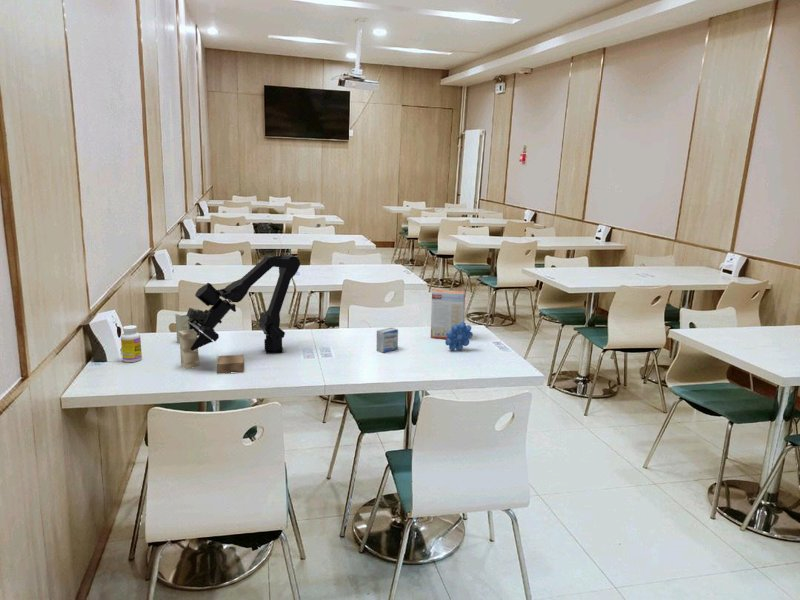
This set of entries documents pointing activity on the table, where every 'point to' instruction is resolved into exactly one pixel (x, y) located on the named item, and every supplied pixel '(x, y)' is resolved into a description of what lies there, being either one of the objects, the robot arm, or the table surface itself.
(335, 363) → the table surface
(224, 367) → the walnut block
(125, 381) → the table surface
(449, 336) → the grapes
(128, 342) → the supplement bottle
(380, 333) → the medicine box
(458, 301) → the cracker box
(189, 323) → the robot arm
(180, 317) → the skincare box
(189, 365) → the oak post
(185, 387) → the table surface
